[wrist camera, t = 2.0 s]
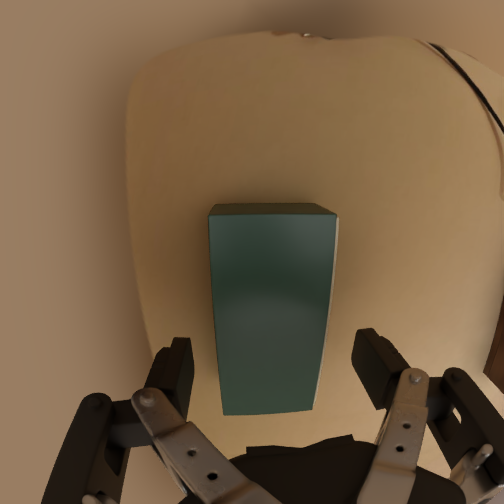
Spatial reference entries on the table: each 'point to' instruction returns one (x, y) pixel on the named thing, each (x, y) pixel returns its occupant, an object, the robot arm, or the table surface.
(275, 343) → the green rectangular block
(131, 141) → the table surface
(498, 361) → the shelf
